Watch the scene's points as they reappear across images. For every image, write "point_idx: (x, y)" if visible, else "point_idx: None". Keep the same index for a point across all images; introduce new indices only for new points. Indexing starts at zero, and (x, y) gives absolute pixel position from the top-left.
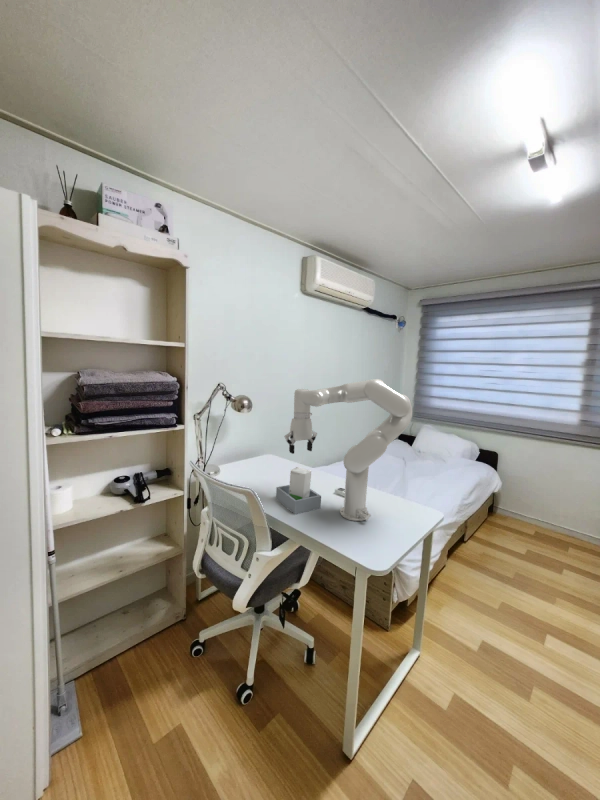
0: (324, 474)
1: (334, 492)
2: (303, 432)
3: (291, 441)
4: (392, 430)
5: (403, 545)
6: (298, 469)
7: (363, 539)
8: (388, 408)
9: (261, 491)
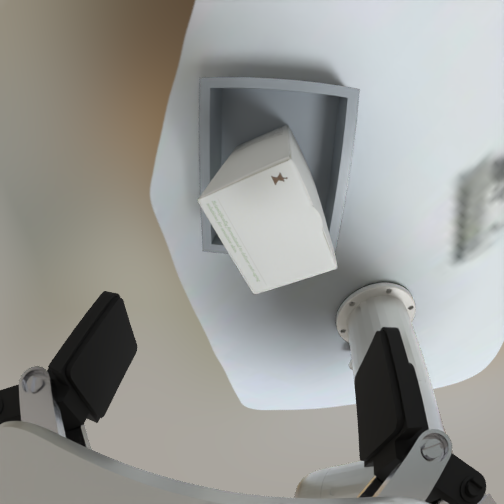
0: None
1: (468, 171)
2: None
3: (50, 417)
4: None
5: (335, 403)
6: (261, 216)
7: (293, 375)
8: None
9: None
